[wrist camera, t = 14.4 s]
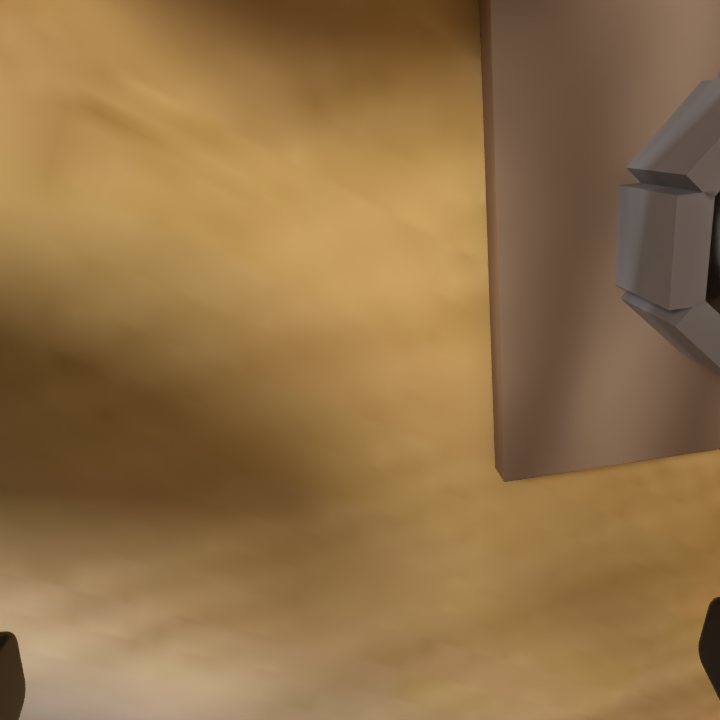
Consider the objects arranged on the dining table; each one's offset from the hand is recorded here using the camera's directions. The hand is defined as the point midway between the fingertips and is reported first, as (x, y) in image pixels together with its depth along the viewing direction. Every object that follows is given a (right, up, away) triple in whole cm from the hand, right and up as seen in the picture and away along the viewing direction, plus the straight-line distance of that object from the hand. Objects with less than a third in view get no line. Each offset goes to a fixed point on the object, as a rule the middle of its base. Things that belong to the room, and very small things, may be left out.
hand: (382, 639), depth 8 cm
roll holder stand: (+12, +8, +12) cm, 19 cm away
